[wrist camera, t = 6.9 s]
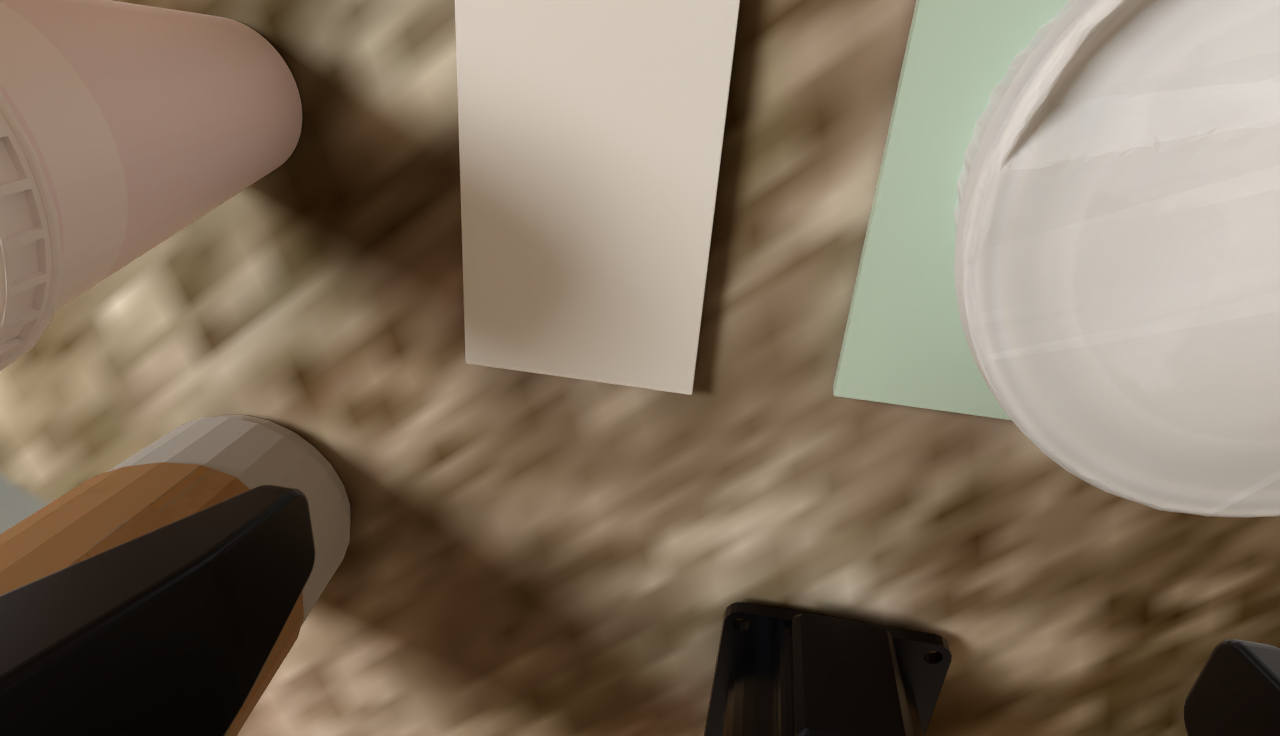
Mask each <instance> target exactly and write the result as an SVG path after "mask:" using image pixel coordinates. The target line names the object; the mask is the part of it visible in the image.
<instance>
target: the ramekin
mask: <svg viewBox="0 0 1280 736" xmlns="http://www.w3.org/2000/svg"><path fill="white" fill-rule="evenodd" d="M957 193H958V199H957V204H956V208H955V211H954V220H955V225H956V238H955V265H954V275H955V288H956V296H957V303H958V309H959V315H960V319H961V323H962V327H963V331H964V334H965V337H966V340H967V343H968V346H969V349H970V352H971V354H972V356H973V359H974V361H975V363H976V365H977V367H978V369H979V371H980V373H981V375H982V376H983V378H984V380H985V382H986V384H987V386H988V387H989V389H990V391H991V392H992V394H993V395H994V397H995V398H996V400H997V401H998V403H999V404H1000V406H1001V407H1002V408H1003V410H1004V411H1005V413H1006V414H1007V415H1008V417H1009V418H1010V419H1011V420H1012V422H1013V423H1014V424H1015V425H1016V426H1017V427H1018V428H1019V429H1020V431H1021V432H1022V433H1023V434H1024V435H1025V436H1026V437H1027V438H1028V439H1029V440H1030V441H1031V442H1032V443H1033V444H1034V445H1035V446H1036V447H1037V448H1038V449H1039V450H1041V451H1042V452H1043V453H1044V454H1046V455H1047V456H1048V457H1049V458H1050V459H1052V460H1053V461H1054V462H1056V463H1057V464H1058V465H1060V466H1061V467H1062V468H1064V469H1065V470H1067V471H1068V472H1070V473H1071V474H1073V475H1075V476H1077V477H1079V478H1080V479H1082V480H1084V481H1086V482H1087V483H1089V484H1091V485H1093V486H1095V487H1097V488H1099V489H1101V490H1103V491H1105V492H1108V493H1111V494H1113V495H1116V496H1119V497H1122V498H1125V499H1128V500H1131V501H1134V502H1137V503H1140V504H1143V505H1146V506H1148V507H1151V508H1154V509H1157V510H1162V511H1168V512H1178V513H1188V514H1195V515H1202V516H1207V517H1210V516H1214V517H1242V518H1249V517H1274V516H1280V0H1069V1H1068V2H1067V3H1066V4H1065V5H1064V6H1063V7H1062V8H1061V9H1060V11H1059V12H1058V13H1057V14H1056V15H1055V16H1054V17H1053V18H1052V19H1051V20H1050V21H1049V22H1047V23H1046V24H1045V25H1043V26H1042V27H1040V28H1039V29H1038V31H1037V32H1036V33H1035V34H1034V36H1033V37H1032V39H1031V41H1030V42H1029V44H1028V45H1027V46H1026V47H1025V49H1023V50H1022V51H1021V52H1020V53H1018V54H1017V55H1016V56H1015V57H1014V59H1013V60H1012V61H1011V63H1010V66H1009V68H1008V71H1007V73H1006V75H1005V76H1004V77H1003V79H1002V80H1001V81H1000V82H999V83H998V84H997V85H996V86H995V87H994V89H993V90H992V92H991V94H990V98H989V101H988V105H987V107H986V109H985V110H984V112H983V113H982V114H981V116H980V117H979V118H978V120H977V122H976V124H975V127H974V132H973V136H972V139H971V141H970V143H969V145H968V147H967V149H966V151H965V154H964V164H963V170H962V172H961V174H960V177H959V179H958V181H957Z"/></svg>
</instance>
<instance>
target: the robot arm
mask: <svg viewBox="0 0 1280 736" xmlns="http://www.w3.org/2000/svg"><path fill="white" fill-rule="evenodd" d="M314 562H315V544H314V537H313V530H312V523H311V516H310V510H309V503H308V499H307V497H306V495H305V494H304V493H303V492H302V491H301V490H299V489H295V488H289V487H283V486H276V485H261V486H258V487H256V488H253V489H251V490H249V491H246V492H244V493H242V494H239V495H237V496H234V497H232V498H230V499H227V500H225V501H223V502H220V503H218V504H215V505H213V506H211V507H208V508H206V509H204V510H201V511H199V512H197V513H194V514H192V515H189V516H187V517H185V518H182V519H180V520H178V521H175V522H173V523H171V524H168V525H166V526H163V527H161V528H159V529H156V530H154V531H152V532H149V533H147V534H144V535H142V536H140V537H137V538H135V539H133V540H130V541H128V542H126V543H123V544H121V545H118V546H116V547H114V548H111V549H109V550H107V551H104V552H102V553H100V554H97V555H95V556H92V557H90V558H88V559H85V560H83V561H81V562H78V563H76V564H74V565H71V566H69V567H66V568H64V569H62V570H59V571H57V572H55V573H52V574H50V575H47V576H45V577H43V578H40V579H38V580H36V581H33V582H31V583H29V584H26V585H24V586H21V587H19V588H17V589H14V590H12V591H10V592H7V593H5V594H3V595H0V736H225V734H226V733H227V731H228V729H229V728H230V726H231V725H232V723H233V721H234V720H235V718H236V716H237V715H238V713H239V712H240V710H241V708H242V707H243V705H244V703H245V701H246V699H247V698H248V696H249V694H250V692H251V690H252V688H253V687H254V685H255V683H256V681H257V679H258V677H259V675H260V673H261V671H262V669H263V667H264V665H265V663H266V661H267V659H268V657H269V655H270V653H271V652H272V650H273V648H274V646H275V644H276V642H277V640H278V638H279V636H280V634H281V632H282V630H283V628H284V626H285V624H286V622H287V620H288V618H289V616H290V614H291V612H292V610H293V608H294V606H295V604H296V602H297V600H298V599H299V597H300V595H301V593H302V591H303V589H304V587H305V585H306V583H307V581H308V579H309V577H310V575H311V572H312V569H313V566H314ZM738 618H743V619H745V620H747V621H741V622H740V621H738V620H736V619H738ZM929 651H937V652H935V653H927V652H929ZM951 657H952V655H951V651H950V648H949V644H948V642H947V640H946V639H944V638H943V637H942V636H939V635H936V634H931V633H925V632H919V631H913V630H907V629H901V628H895V627H889V626H883V625H877V624H871V623H865V622H859V621H853V620H847V619H841V618H835V617H829V616H823V615H817V614H811V613H805V612H799V611H792V610H786V609H780V608H774V607H768V606H762V605H756V604H750V603H744V602H737V603H733V604H731V605H729V606H728V607H727V608H726V611H725V614H724V620H723V625H722V631H721V637H720V643H719V649H718V655H717V661H716V667H715V673H714V679H713V685H712V691H711V697H710V703H709V709H708V715H707V721H706V726H705V732H704V736H924V735H925V732H926V729H927V726H928V724H929V721H930V718H931V715H932V712H933V710H934V707H935V704H936V701H937V699H938V696H939V693H940V690H941V687H942V685H943V682H944V679H945V676H946V674H947V671H948V668H949V665H950V662H951ZM1184 720H1185V726H1186V730H1187V733H1188V736H1280V648H1277V647H1275V646H1272V645H1268V644H1262V643H1256V642H1250V641H1244V640H1237V639H1228V640H1224V641H1222V642H1221V643H1219V644H1218V645H1217V646H1216V647H1215V648H1214V650H1213V651H1212V653H1211V655H1210V657H1209V658H1208V660H1207V662H1206V664H1205V665H1204V667H1203V669H1202V671H1201V672H1200V674H1199V676H1198V678H1197V679H1196V681H1195V683H1194V685H1193V686H1192V688H1191V690H1190V692H1189V693H1188V695H1187V698H1186V701H1185V706H1184Z"/></svg>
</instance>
